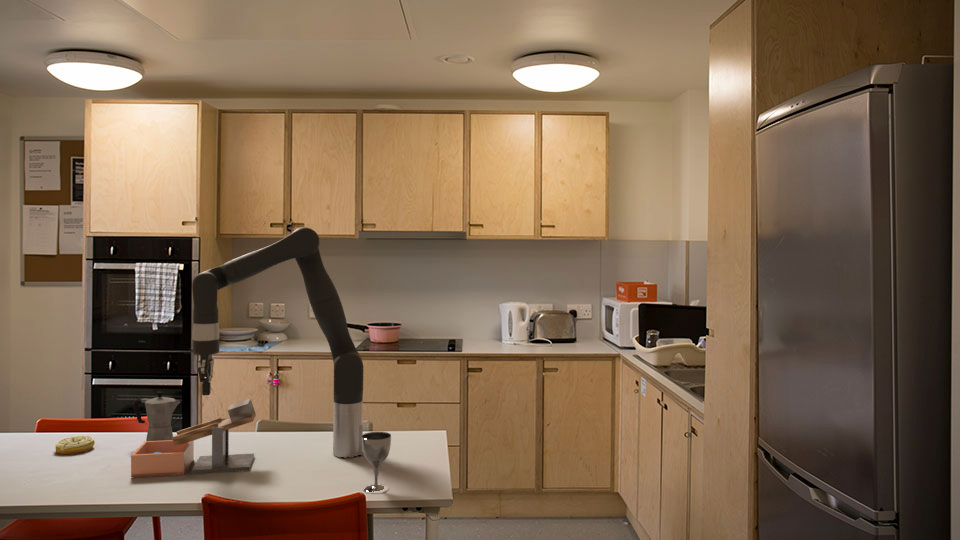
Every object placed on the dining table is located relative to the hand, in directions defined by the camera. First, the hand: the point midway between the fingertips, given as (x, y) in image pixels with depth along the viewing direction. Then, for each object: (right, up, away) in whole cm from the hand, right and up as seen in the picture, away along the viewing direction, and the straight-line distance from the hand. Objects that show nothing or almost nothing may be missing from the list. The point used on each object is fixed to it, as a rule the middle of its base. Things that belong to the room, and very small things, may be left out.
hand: (206, 394), depth 200 cm
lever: (+3, -11, 0) cm, 11 cm away
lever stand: (+4, -22, 0) cm, 22 cm away
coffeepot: (-25, -21, +20) cm, 38 cm away
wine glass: (+54, -23, -17) cm, 61 cm away
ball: (-13, -19, -3) cm, 23 cm away
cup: (-12, -22, -3) cm, 25 cm away
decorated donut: (-48, -21, +13) cm, 54 cm away
